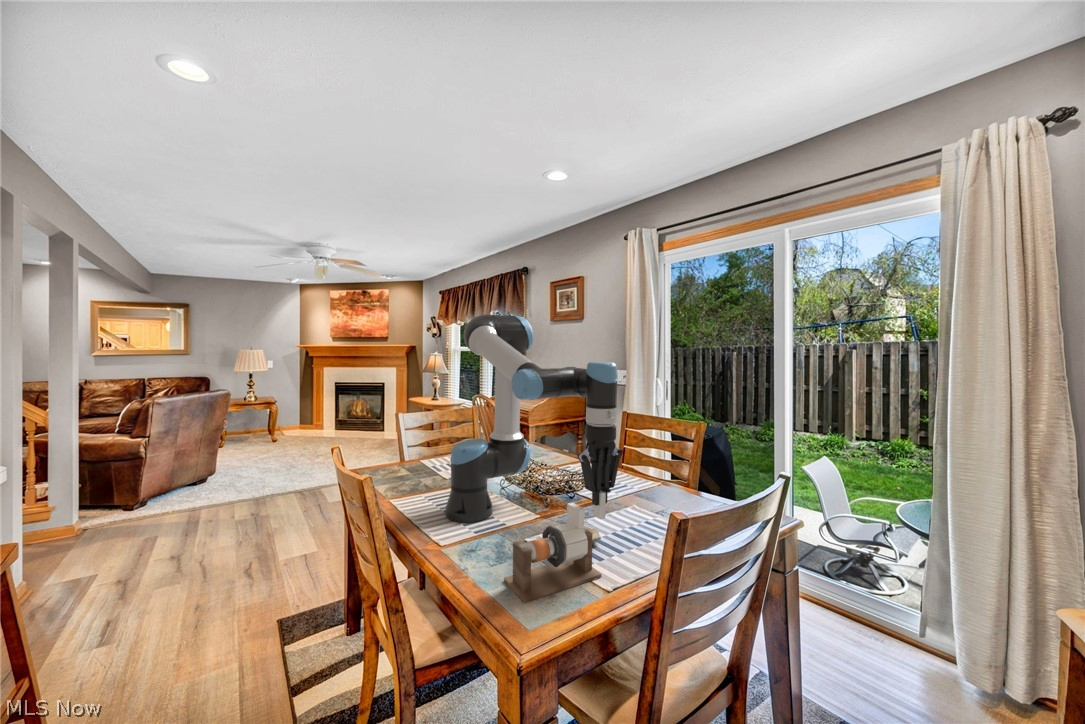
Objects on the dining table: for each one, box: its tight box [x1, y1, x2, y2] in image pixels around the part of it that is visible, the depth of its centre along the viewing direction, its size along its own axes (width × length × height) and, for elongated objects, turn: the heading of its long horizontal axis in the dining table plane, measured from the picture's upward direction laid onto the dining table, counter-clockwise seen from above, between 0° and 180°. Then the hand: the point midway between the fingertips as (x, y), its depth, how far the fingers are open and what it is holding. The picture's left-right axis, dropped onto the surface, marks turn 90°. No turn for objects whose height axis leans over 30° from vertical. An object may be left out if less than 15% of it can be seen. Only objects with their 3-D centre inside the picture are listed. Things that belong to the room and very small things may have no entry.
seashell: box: [583, 525, 602, 543], centre depth 124 cm, size 12×12×3 cm
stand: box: [503, 528, 602, 604], centre depth 104 cm, size 21×10×10 cm, turn 121°
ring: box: [541, 525, 564, 567], centre depth 104 cm, size 1×9×9 cm, turn 31°
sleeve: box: [548, 502, 588, 564], centre depth 106 cm, size 6×8×12 cm
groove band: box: [528, 537, 550, 564], centre depth 102 cm, size 4×5×5 cm
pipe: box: [519, 528, 586, 564], centre depth 104 cm, size 18×4×4 cm, turn 121°
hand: (599, 516), depth 111 cm, fingers closed
